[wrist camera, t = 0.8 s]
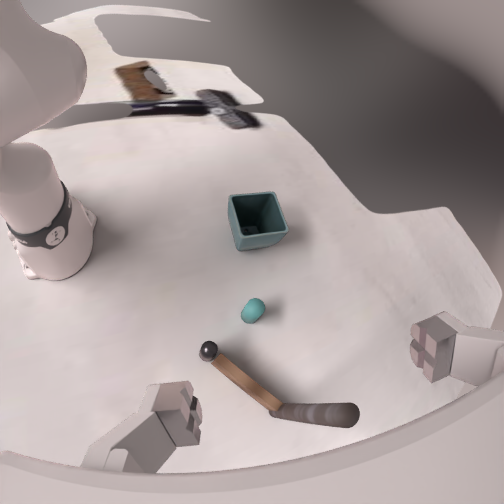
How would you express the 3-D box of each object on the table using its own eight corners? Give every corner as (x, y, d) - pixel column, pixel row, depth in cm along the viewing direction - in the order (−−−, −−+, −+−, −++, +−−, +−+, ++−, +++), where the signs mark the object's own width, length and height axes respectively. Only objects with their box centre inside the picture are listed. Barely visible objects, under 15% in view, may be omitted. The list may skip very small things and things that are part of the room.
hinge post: (196, 354, 47) (197, 349, 42) (205, 344, 48) (208, 337, 43) (207, 364, 46) (210, 360, 41) (216, 353, 47) (221, 348, 42)
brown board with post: (209, 366, 46) (230, 340, 26) (219, 354, 47) (249, 319, 27) (277, 420, 44) (350, 432, 23) (286, 408, 45) (364, 411, 25)
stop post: (237, 315, 51) (242, 307, 47) (248, 303, 53) (254, 294, 48) (250, 327, 51) (257, 319, 47) (261, 314, 52) (268, 306, 48)
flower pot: (275, 255, 59) (290, 231, 51) (232, 262, 56) (240, 238, 48) (262, 217, 62) (274, 190, 54) (221, 222, 59) (228, 194, 52)
